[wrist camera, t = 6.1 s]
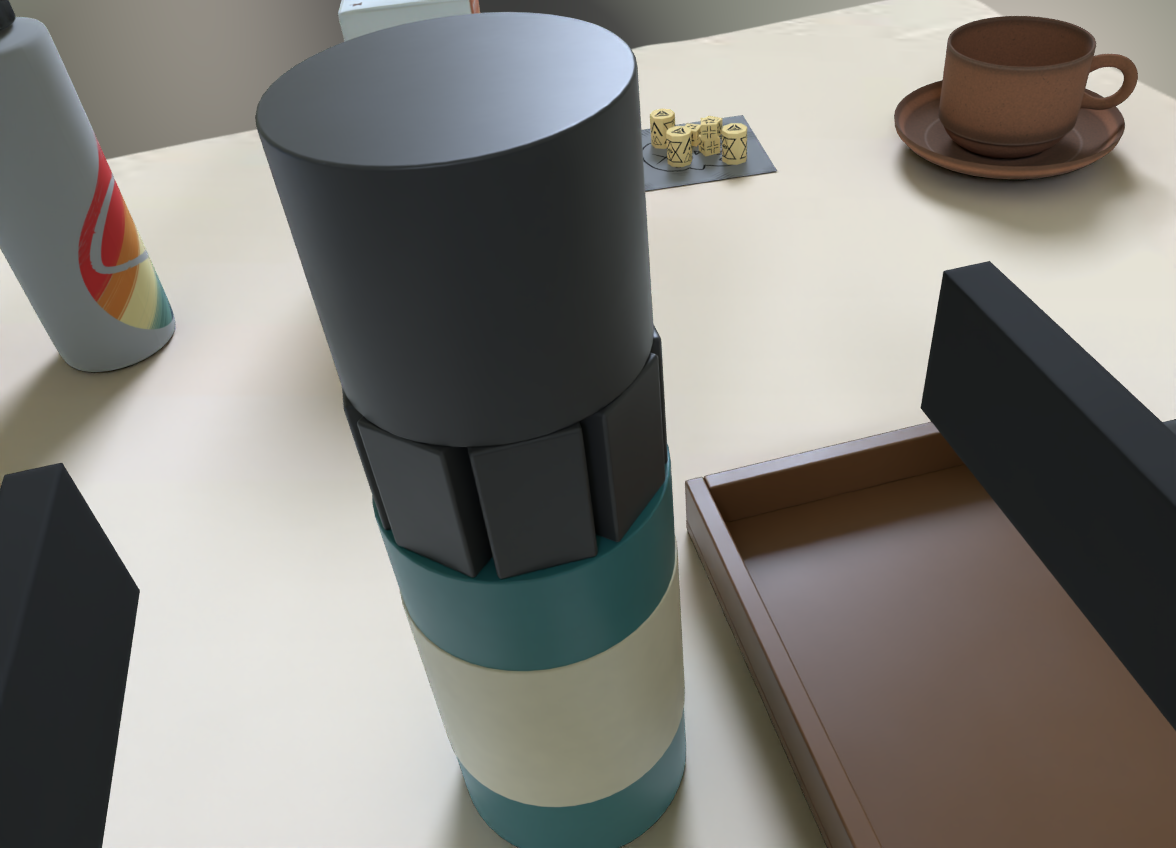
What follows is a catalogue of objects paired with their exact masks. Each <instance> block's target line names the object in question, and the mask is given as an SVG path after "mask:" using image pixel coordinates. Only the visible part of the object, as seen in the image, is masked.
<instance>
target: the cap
mask: <svg viewBox="0 0 1176 848" xmlns="http://www.w3.org/2000/svg"><path fill="white" fill-rule="evenodd" d="M255 118H256V126H257V130H258V133H259V136H260V139H261V142H262V145H263V148H264V151H265V154H266V157H267V160H268V163H269V166H270V169H271V172H272V176H273V179H274V182H275V185H276V188H277V191H278V194H279V197H280V200H281V203H282V206H283V209H284V212H285V215H286V218H287V221H288V224H289V227H290V230H291V233H292V236H293V239H294V242H295V245H296V248H297V251H298V254H299V257H300V260H301V263H302V266H303V269H304V273H305V276H306V279H307V282H308V285H309V288H310V291H311V294H312V297H313V300H314V303H315V306H316V309H317V312H318V315H319V318H320V321H321V324H322V327H323V330H324V333H325V336H326V339H327V342H328V345H329V348H330V351H331V354H332V357H333V360H334V363H335V366H336V369H337V373H338V376H339V379H340V382H341V385H342V393H343V405H344V411H345V414H346V417H347V420H348V423H349V426H350V429H351V432H352V435H353V438H354V441H355V444H356V447H357V450H358V453H359V456H360V459H361V462H362V465H363V468H364V471H365V474H366V477H367V480H368V483H369V486H370V489H371V492H372V495H373V498H374V501H375V504H376V507H377V510H378V513H379V516H380V519H381V522H382V525H383V527H384V529H385V530H390V529H392V532H393V535H394V538H395V541H396V543H397V544H398V545H399V546H401V547H403V548H406V549H408V550H410V551H412V552H415V553H417V554H419V555H421V556H424V557H426V558H428V559H431V560H433V561H435V562H437V563H440V564H442V565H444V566H446V567H449V568H451V569H453V570H455V571H458V572H460V573H462V574H465V575H467V576H469V577H471V578H474V577H476V576H477V574H478V573H479V572H480V571H481V570H482V569H483V567H484V566H485V565H486V564H487V563H488V562H489V560H490V559H491V558H492V557H493V560H494V564H495V569H496V573H497V576H498V577H499V578H500V579H506V578H510V577H514V576H518V575H522V574H526V573H530V572H534V571H538V570H542V569H546V568H550V567H554V566H558V565H562V564H567V563H571V562H575V561H579V560H583V559H587V558H591V557H595V556H596V555H597V553H598V548H597V541H596V535H599V536H602V537H604V538H607V539H609V540H612V541H615V542H619V541H621V539H622V538H623V537H624V535H625V534H626V532H627V531H628V530H629V528H630V527H631V526H632V524H633V523H634V522H635V520H636V519H637V518H638V516H639V515H640V514H641V512H642V511H643V510H644V508H645V507H646V506H647V504H648V503H649V502H650V500H651V499H652V498H653V496H654V495H655V494H656V492H657V491H658V490H659V488H660V487H661V486H662V484H663V483H664V481H665V465H664V464H666V463H667V462H668V453H667V435H666V417H665V399H664V382H663V364H662V346H661V338H660V336H659V334H658V332H657V330H656V328H655V326H654V324H653V311H652V295H651V279H650V263H649V247H648V230H647V214H646V198H645V182H644V166H643V149H642V133H641V117H640V101H639V85H638V68H637V62H636V57H635V55H634V53H633V52H632V50H631V48H630V46H629V45H628V44H627V43H626V42H625V41H624V40H623V39H622V38H620V37H619V36H617V35H616V34H614V33H613V32H611V31H609V30H606V29H605V28H602V27H600V26H598V25H595V24H592V23H588V22H585V21H582V20H577V19H573V18H569V17H562V16H556V15H548V14H538V13H519V12H497V13H495V12H494V13H476V14H464V15H455V16H446V17H440V18H433V19H427V20H421V21H416V22H411V23H406V24H402V25H398V26H394V27H390V28H386V29H382V30H379V31H375V32H372V33H368V34H365V35H362V36H359V37H356V38H353V39H351V40H348V41H345V42H343V43H340V44H338V45H335V46H333V47H330V48H328V49H326V50H324V51H322V52H320V53H318V54H316V55H314V56H312V57H309V58H308V59H306V60H304V61H303V62H301V63H299V64H298V65H296V66H294V67H293V68H291V69H290V70H289V71H287V72H286V73H284V74H283V75H282V76H280V77H279V78H278V79H277V80H276V81H275V82H274V83H273V84H272V85H271V86H270V87H269V88H268V89H267V91H266V92H265V93H264V94H263V96H262V98H261V100H260V101H259V103H258V106H257V111H256V117H255Z"/></svg>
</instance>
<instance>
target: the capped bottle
mask: <svg viewBox="0 0 1176 848" xmlns="http://www.w3.org/2000/svg"><path fill="white" fill-rule="evenodd" d="M667 453H668V462H667V463H666V464H664V465H665V481H664V483H663V484H662V486H661V487H660V488H659V490H658V491H657V492H656V494H655V495H654V496H653V498H652V499H651V500H650V502H649V503H648V504H647V506H646V507H645V508H644V510H643V511H642V512H641V514H640V515H639V516H638V518H637V519H636V520H635V522H634V523H633V524H632V526H631V527H630V528H629V530H628V531H627V532H626V534H625V535H624V537H623V538H622V539H621V541H619V542H615V541H612V540H609V539H607V538H604V537H602V536H599V535H596V541H597V548H598V553H597V555H596V556H595V557H591V558H587V559H583V560H579V561H575V562H571V563H567V564H562V565H558V566H554V567H550V568H546V569H542V570H538V571H534V572H530V573H526V574H522V575H518V576H514V577H510V578H506V579H500V578H499V577H498V576H497V573H496V569H495V564H494V560H493V557H492V558H491V559H490V560H489V562H488V563H487V564H486V565H485V566H484V567H483V569H482V570H481V571H480V572H479V573H478V574H477V576H476V577H474V578H471V577H469V576H467V575H465V574H462V573H460V572H458V571H455V570H453V569H451V568H449V567H446V566H444V565H442V564H440V563H437V562H435V561H433V560H431V559H428V558H426V557H424V556H421V555H419V554H417V553H415V552H412V551H410V550H408V549H406V548H403V547H401V546H399V545H398V544H397V543H396V541H395V538H394V535H393V532H392V529H390V530H385V529H384V527H383V525H382V522H381V519H380V516H379V513H378V510H377V507H376V504H375V501H374V498H373V495H372V503H373V508H374V513H375V517H376V520H377V523H378V526H379V529H380V532H381V535H382V538H383V541H384V544H385V547H386V550H387V553H388V556H389V559H390V562H391V565H392V567H393V570H394V573H395V576H396V579H397V582H398V585H399V588H400V594H401V599H402V603H403V607H404V609H405V612H406V615H407V618H408V621H409V624H410V627H411V630H412V633H413V636H414V639H415V642H416V645H417V647H418V650H419V653H420V656H421V659H422V662H423V665H424V668H425V671H426V674H427V677H428V680H429V683H430V686H431V688H432V691H433V694H434V697H435V700H436V703H437V706H438V709H439V712H440V715H441V718H442V721H443V724H444V727H445V729H446V732H447V735H448V738H449V741H450V743H451V746H452V748H453V750H454V752H455V754H456V756H457V759H458V762H459V765H460V768H461V771H462V774H463V777H464V780H465V783H466V786H467V788H468V791H469V794H470V796H471V799H472V801H473V804H474V806H475V807H476V809H477V811H478V812H479V814H480V816H481V817H482V818H483V819H484V821H485V822H486V823H487V824H488V826H489V827H490V828H491V829H492V830H494V831H495V832H496V833H497V834H498V835H499V836H500V837H502V838H503V839H505V840H506V841H508V842H509V843H511V844H512V845H514V846H516V847H518V848H620V847H621V846H623V845H625V844H627V843H629V842H631V841H633V840H634V839H636V838H637V837H639V836H640V835H642V834H643V833H644V832H645V831H647V830H648V829H649V828H650V827H651V826H652V825H653V824H654V823H655V822H656V821H657V820H658V819H659V818H660V817H661V816H662V814H663V813H664V812H665V811H666V809H667V808H668V806H669V805H670V803H671V802H672V800H673V798H674V796H675V794H676V792H677V790H678V788H679V786H680V782H681V779H682V776H683V773H684V767H685V761H686V738H685V719H684V696H685V686H684V666H683V647H682V628H681V608H680V589H679V569H678V550H677V543H676V537H675V532H674V514H673V495H672V476H671V460H670V453H669V447H668V444H667Z"/></svg>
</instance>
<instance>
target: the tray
mask: <svg viewBox="0 0 1176 848" xmlns="http://www.w3.org/2000/svg"><path fill="white" fill-rule="evenodd" d="M685 496H686V519H687V520H686V525H687V530H688V532H689V535H690V537H691V539H692V541H693V544H694V546H695V548H696V550H697V553H698V555H699V557H700V560H701V562H702V564H703V566H704V569H705V571H706V573H707V575H708V578H709V580H710V582H711V584H712V587H713V589H714V591H715V594H716V596H717V598H718V600H719V603H720V605H721V607H722V609H723V612H724V614H725V616H726V619H727V621H728V623H729V625H730V628H731V630H732V632H733V634H734V637H735V639H736V641H737V644H738V646H739V648H740V650H741V653H742V655H743V657H744V659H745V662H746V664H747V666H748V669H749V671H750V673H751V675H752V678H753V680H754V682H755V684H756V687H757V689H758V691H759V693H760V696H761V698H762V700H763V703H764V705H765V707H766V709H767V712H768V714H769V716H770V718H771V721H772V723H773V725H774V728H775V730H776V732H777V734H778V737H779V739H780V741H781V743H782V746H783V748H784V750H785V753H786V755H787V757H788V759H789V762H790V764H791V766H792V768H793V771H794V773H795V775H796V778H797V780H798V782H799V784H800V787H801V789H802V791H803V793H804V796H805V798H806V800H807V802H808V805H809V807H810V809H811V812H812V814H813V816H814V818H815V821H816V823H817V825H818V827H819V830H820V832H821V834H822V837H823V839H824V841H825V843H826V846H827V848H1176V731H1175V730H1174V728H1173V727H1172V726H1171V725H1170V723H1169V722H1168V721H1167V719H1166V718H1165V717H1164V716H1163V714H1162V713H1161V712H1160V711H1159V709H1158V708H1157V707H1156V706H1155V704H1154V703H1153V702H1152V700H1151V699H1150V698H1149V697H1148V695H1147V694H1146V693H1145V692H1144V690H1143V689H1142V688H1141V687H1140V685H1139V684H1138V683H1137V681H1136V680H1135V679H1134V678H1133V676H1132V675H1131V674H1130V673H1129V671H1128V670H1127V669H1126V668H1125V666H1124V665H1123V664H1122V662H1121V661H1120V660H1119V659H1118V657H1117V656H1116V655H1115V654H1114V652H1113V651H1112V650H1111V649H1110V647H1109V646H1108V645H1107V643H1106V642H1105V641H1104V640H1103V638H1102V637H1101V636H1100V635H1099V633H1098V632H1097V631H1096V630H1095V628H1094V627H1093V626H1092V624H1091V623H1090V622H1089V621H1088V619H1087V618H1086V617H1085V616H1084V614H1083V613H1082V612H1081V611H1080V609H1079V608H1078V607H1077V605H1076V604H1075V603H1074V602H1073V600H1072V599H1071V598H1070V597H1069V595H1068V594H1067V593H1066V592H1065V590H1064V589H1063V588H1062V586H1061V585H1060V584H1059V583H1058V581H1057V580H1056V579H1055V578H1054V576H1053V575H1052V574H1051V573H1050V571H1049V570H1048V569H1047V567H1046V566H1045V565H1044V564H1043V562H1042V561H1041V560H1040V559H1039V557H1038V556H1037V555H1036V554H1035V552H1034V551H1033V550H1032V548H1031V547H1030V546H1029V545H1028V543H1027V542H1026V541H1025V540H1024V538H1023V537H1022V536H1021V535H1020V533H1019V532H1018V531H1017V529H1016V528H1015V527H1014V526H1013V524H1012V523H1011V522H1010V521H1009V519H1008V518H1007V517H1006V516H1005V514H1004V513H1003V512H1002V510H1001V509H1000V508H999V507H998V505H997V504H996V503H995V502H994V500H993V499H992V498H991V497H990V495H989V494H988V493H987V491H986V490H985V489H984V488H983V486H982V485H981V484H980V483H979V481H978V480H977V479H976V478H975V476H974V475H973V474H972V472H971V471H970V470H969V469H968V467H967V466H966V465H965V464H964V462H963V461H962V460H961V459H960V457H959V456H958V455H957V453H956V452H955V451H954V450H953V448H952V447H951V446H950V445H949V443H948V442H947V441H946V440H945V438H944V437H943V436H942V434H941V433H940V432H939V431H938V429H937V428H936V427H935V426H934V424H933V423H932V422H928V423H924V424H920V425H916V426H911V427H907V428H903V429H899V430H895V431H891V432H886V433H882V434H878V435H874V436H870V437H866V438H861V439H857V440H853V441H849V442H845V443H841V444H836V445H832V446H828V447H824V448H820V449H815V450H811V451H807V452H803V453H799V454H795V455H790V456H786V457H782V458H778V459H774V460H770V461H765V462H761V463H757V464H753V465H749V466H744V467H740V468H736V469H732V470H728V471H724V472H719V473H715V474H711V475H707V476H704V478H703V477H699V478H695V479H690V480H687V481H685Z"/></svg>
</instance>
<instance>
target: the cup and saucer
mask: <svg viewBox="0 0 1176 848" xmlns="http://www.w3.org/2000/svg"><path fill="white" fill-rule="evenodd" d="M1095 48H1096V41H1095V38H1094V37H1093V36H1092V35H1091V34H1090V33H1089V32H1088V31H1086V30H1085V29H1083V28H1081V27H1079V26H1076V25H1073V24H1071V23H1067V22H1064V21H1060V20H1055V19H1049V18H1042V17H1031V16H1005V17H994V18H987V19H982V20H978V21H974V22H970V23H968V24H965V25H963V26H961V27H959V28H957V29H956V30H954V31H953V32H952V33H951V34H950V36H949V38H948V43H947V50H946V58H945V66H944V74H943V80H942V81H938V82H935V83H932V84H929V85H926V86H924V87H921V88H919V89H917V90H915V91H913V92H912V93H910V94H909V95H907V96H906V97H905V98H904V99H903V100H902V101H901V102H900V103H899V104H898V106H897V108H896V110H895V115H894V119H895V127H896V130H897V133H898V135H899V137H900V138H901V139H902V140H903V142H904V143H906V144H907V146H908V147H909V148H910V149H912V150H913V151H914V152H915V153H916V154H918V155H919V156H921V157H922V158H924V159H926V160H928V161H930V162H932V163H934V164H936V165H938V166H941V167H943V168H946V169H949V170H952V171H956V172H959V173H963V174H968V175H973V176H978V177H985V178H995V179H1034V178H1043V177H1050V176H1056V175H1060V174H1064V173H1068V172H1072V171H1075V170H1078V169H1080V168H1083V167H1085V166H1087V165H1089V164H1091V163H1093V162H1095V161H1096V160H1098V159H1100V158H1102V157H1104V156H1105V155H1107V154H1108V153H1109V152H1110V151H1112V150H1113V149H1114V147H1115V146H1116V145H1117V144H1118V142H1119V140H1120V138H1121V136H1122V134H1123V132H1124V128H1125V122H1124V118H1123V116H1122V114H1121V112H1120V111H1119V110H1118V109H1117V107H1116V106H1117V105H1119V104H1121V103H1122V102H1123V101H1125V100H1126V99H1127V98H1128V97H1129V96H1130V95H1131V93H1132V92H1133V90H1134V88H1135V86H1136V83H1137V79H1138V73H1137V69H1136V67H1135V65H1134V63H1133V62H1132V61H1131V60H1130V59H1129V58H1127V57H1125V56H1122V55H1118V54H1101V55H1097V56H1094V52H1095ZM1102 67H1115V68H1118V69H1119V70H1121V71H1122V73H1123V75H1124V82H1123V85H1122V86H1121V88H1120V89H1119V90H1118V91H1117V92H1116V93H1115V94H1113V95H1111V96H1109V97H1106V98H1104V97H1102V96H1100V95H1099V94H1097V93H1095V92H1092V91H1090V90H1088V89H1085V87H1086V83H1087V79H1088V75H1089V73H1090V72H1092V71H1094V70H1096V69H1099V68H1102Z"/></svg>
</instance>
